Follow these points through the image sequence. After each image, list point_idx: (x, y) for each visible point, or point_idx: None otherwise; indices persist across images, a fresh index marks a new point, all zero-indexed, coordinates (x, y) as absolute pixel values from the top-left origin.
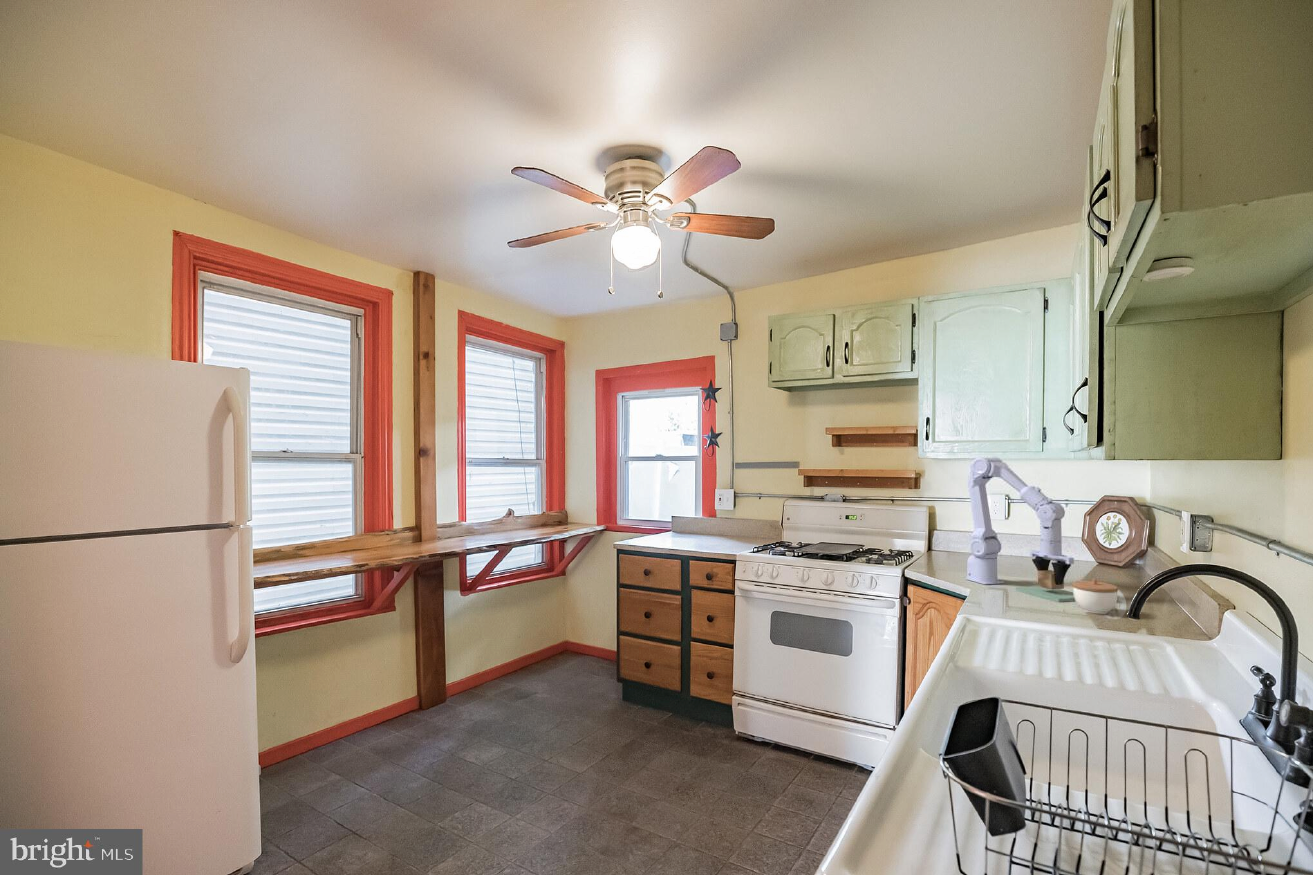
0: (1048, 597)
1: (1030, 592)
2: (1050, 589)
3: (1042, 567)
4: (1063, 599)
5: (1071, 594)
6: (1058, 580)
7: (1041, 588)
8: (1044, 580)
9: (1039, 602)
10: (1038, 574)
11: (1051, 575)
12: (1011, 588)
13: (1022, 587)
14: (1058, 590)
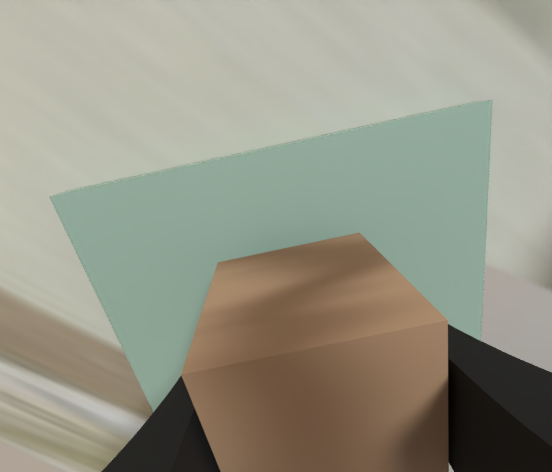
0: (150, 174)
1: (328, 136)
2: None
3: (488, 447)
4: (76, 241)
5: None
6: None
7: None
8: (294, 278)
9: (21, 3)
10: (402, 290)
11: (189, 358)
12: (540, 112)
13: (471, 161)
14: None
